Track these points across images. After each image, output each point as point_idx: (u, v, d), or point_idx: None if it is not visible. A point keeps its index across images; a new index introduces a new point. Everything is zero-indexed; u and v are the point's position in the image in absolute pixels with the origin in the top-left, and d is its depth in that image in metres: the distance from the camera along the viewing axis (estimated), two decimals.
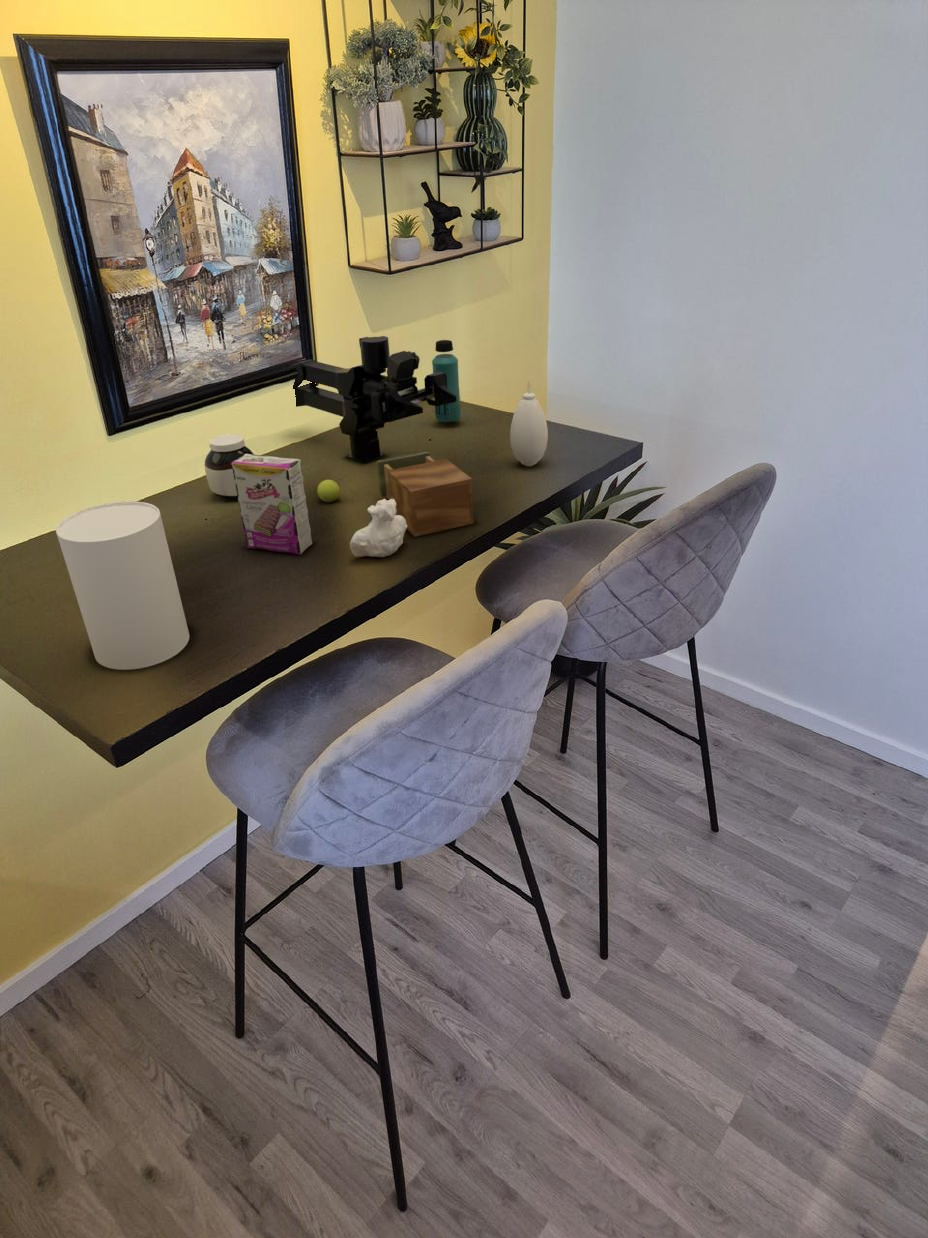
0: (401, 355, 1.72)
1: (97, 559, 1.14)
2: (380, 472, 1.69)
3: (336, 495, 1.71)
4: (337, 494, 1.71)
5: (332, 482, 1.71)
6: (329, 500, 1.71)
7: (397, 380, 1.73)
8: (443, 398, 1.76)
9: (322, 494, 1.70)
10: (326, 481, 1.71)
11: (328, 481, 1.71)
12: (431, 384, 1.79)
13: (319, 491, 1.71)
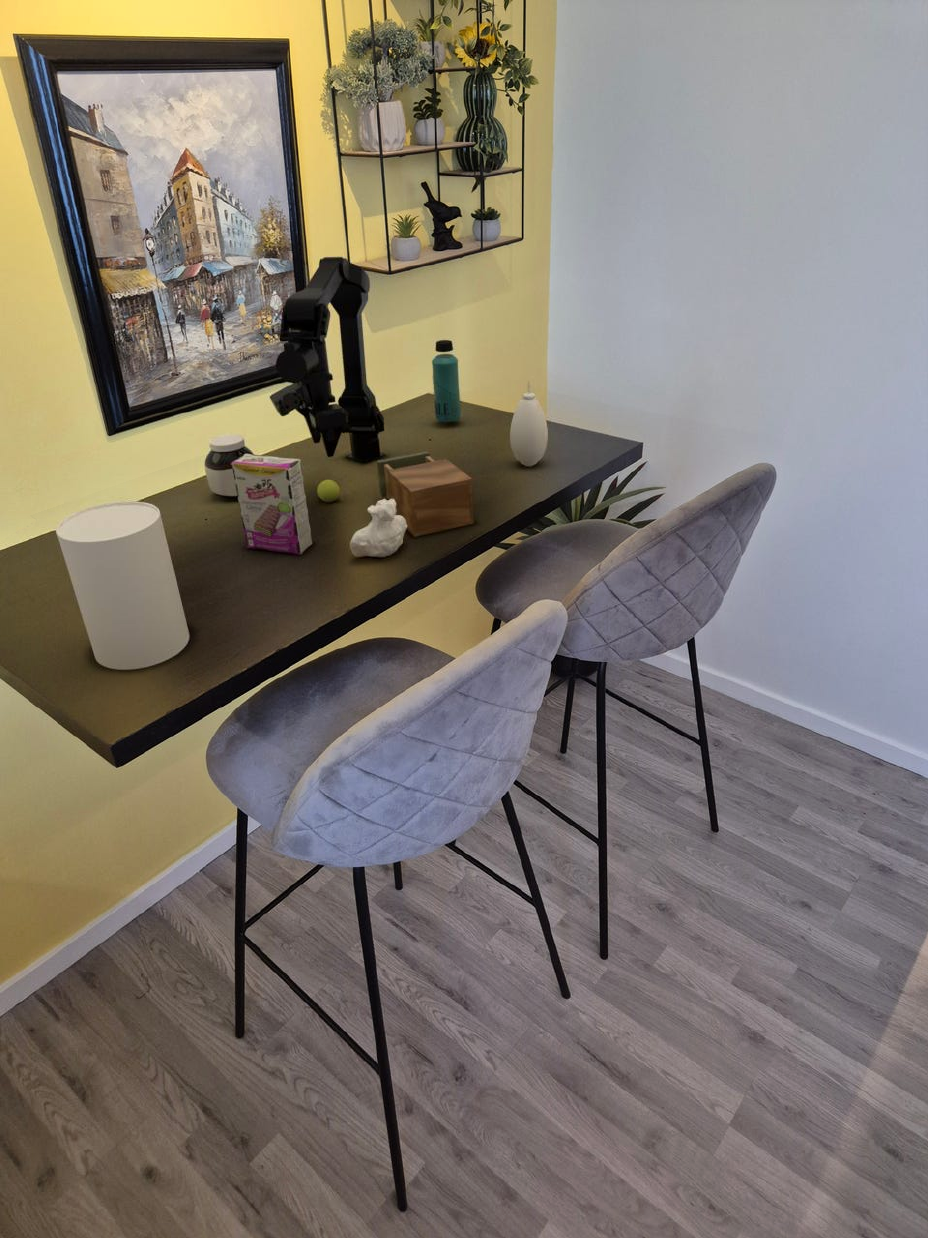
0: (274, 404, 1.60)
1: (97, 559, 1.14)
2: (380, 472, 1.69)
3: (336, 495, 1.71)
4: (337, 494, 1.71)
5: (332, 482, 1.71)
6: (329, 500, 1.71)
7: None
8: None
9: (322, 494, 1.70)
10: (326, 481, 1.71)
11: (328, 481, 1.71)
12: None
13: (319, 491, 1.71)
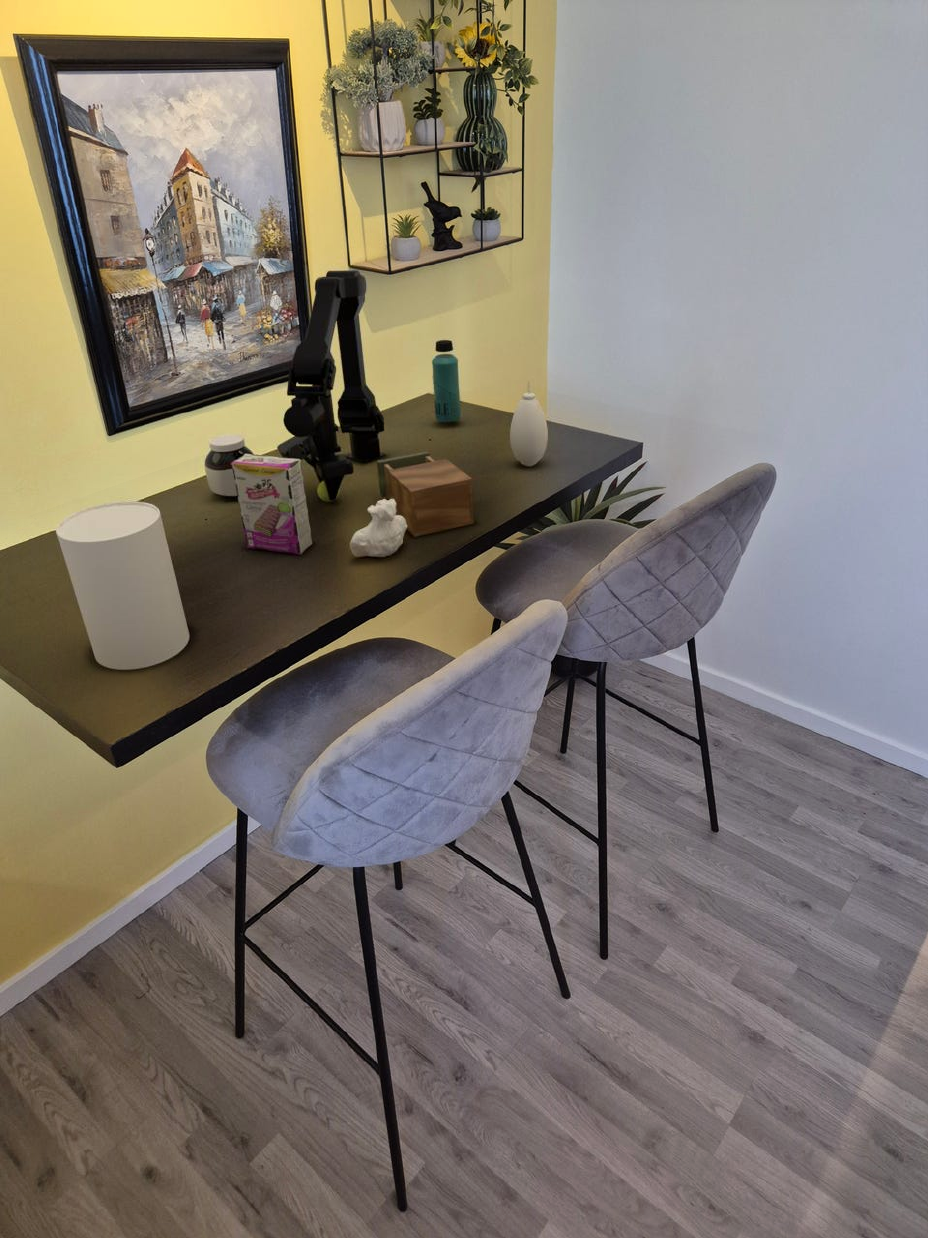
0: (281, 455, 1.65)
1: (97, 559, 1.14)
2: (380, 472, 1.69)
3: None
4: (337, 494, 1.71)
5: None
6: (329, 500, 1.71)
7: None
8: None
9: (322, 494, 1.70)
10: None
11: None
12: None
13: (319, 491, 1.71)
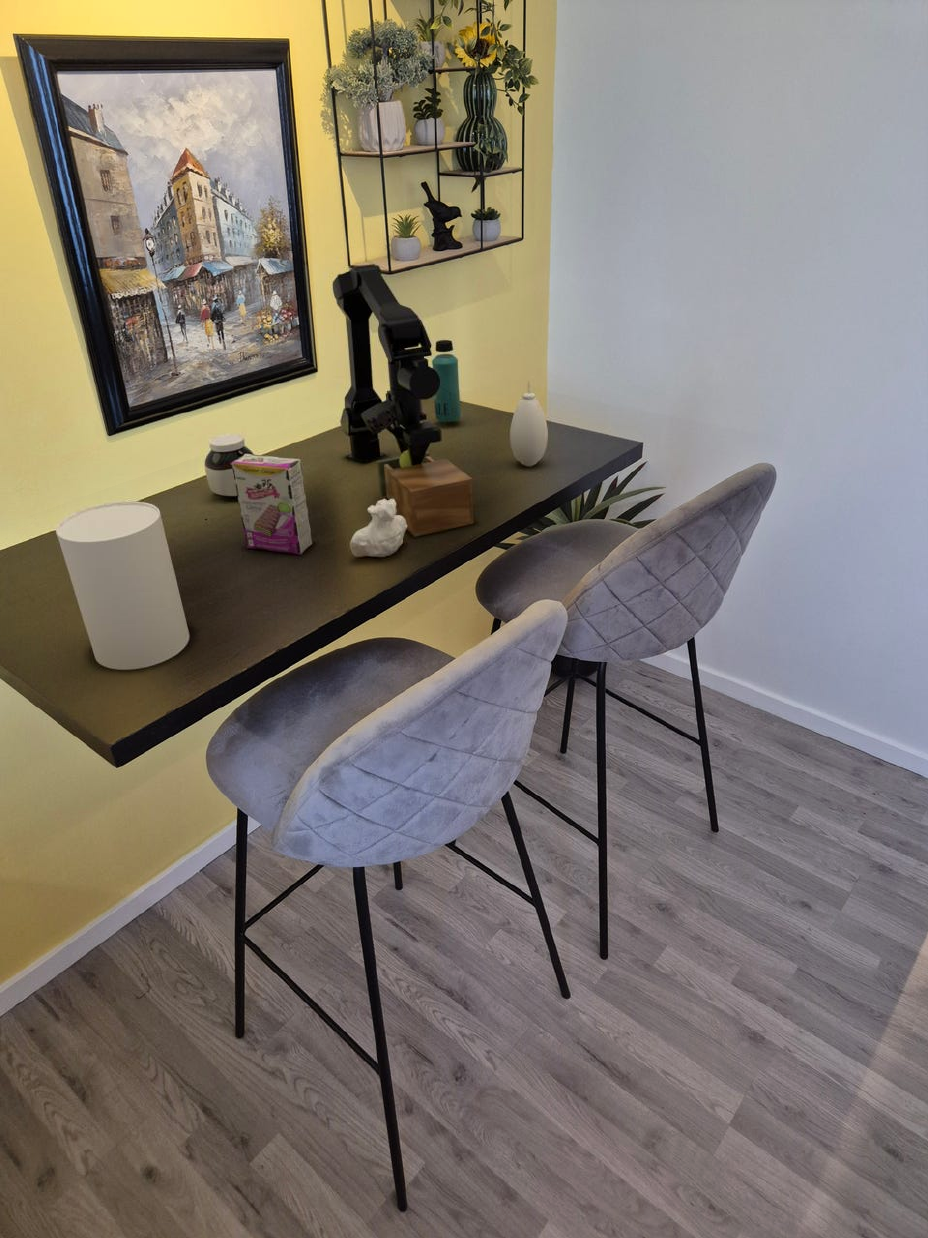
0: (366, 422, 1.59)
1: (97, 559, 1.14)
2: (380, 472, 1.69)
3: None
4: None
5: None
6: None
7: None
8: None
9: (405, 464, 1.65)
10: None
11: None
12: None
13: (402, 461, 1.65)
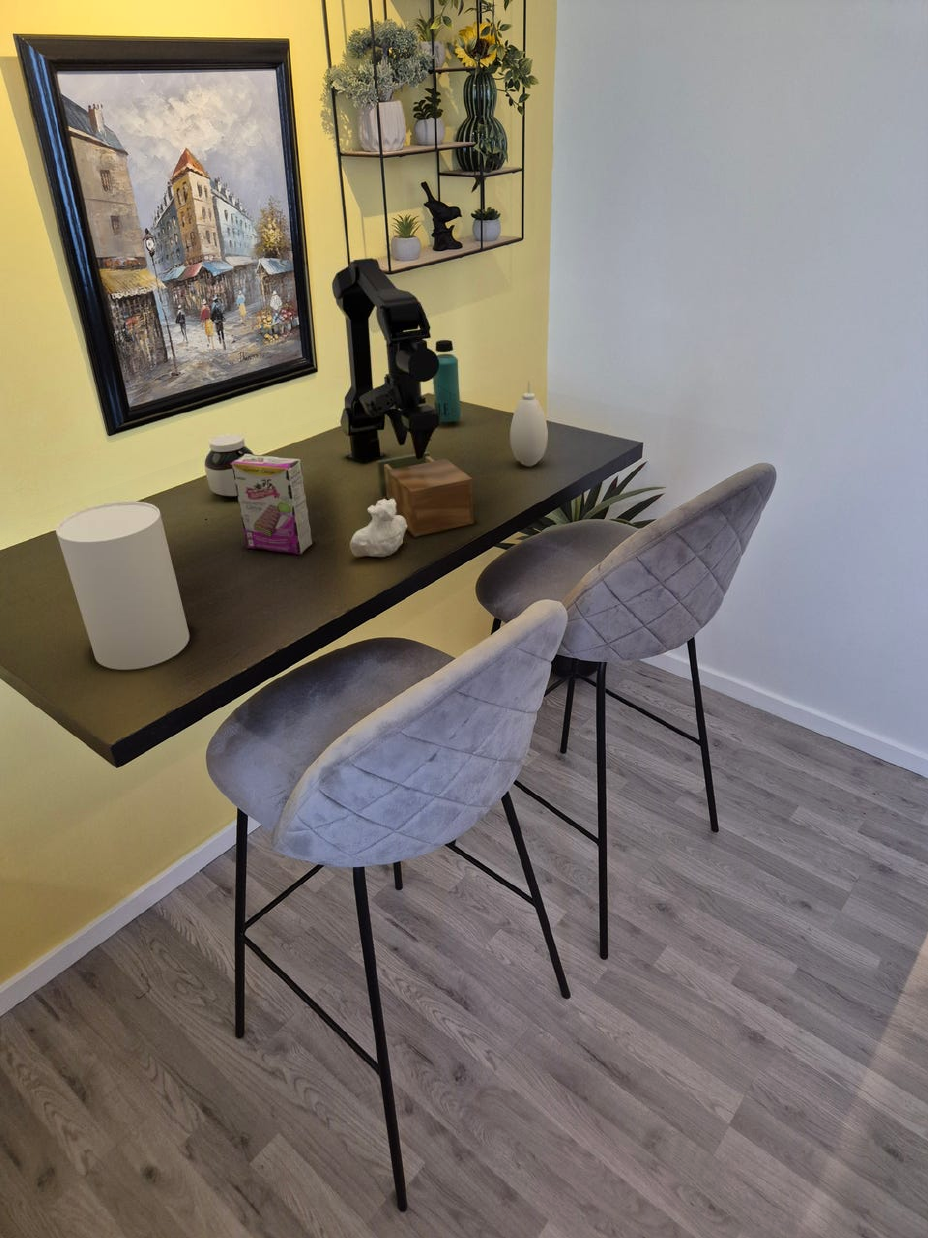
0: (364, 406, 1.58)
1: (97, 559, 1.14)
2: (380, 472, 1.69)
3: None
4: None
5: None
6: None
7: None
8: None
9: None
10: None
11: None
12: None
13: None
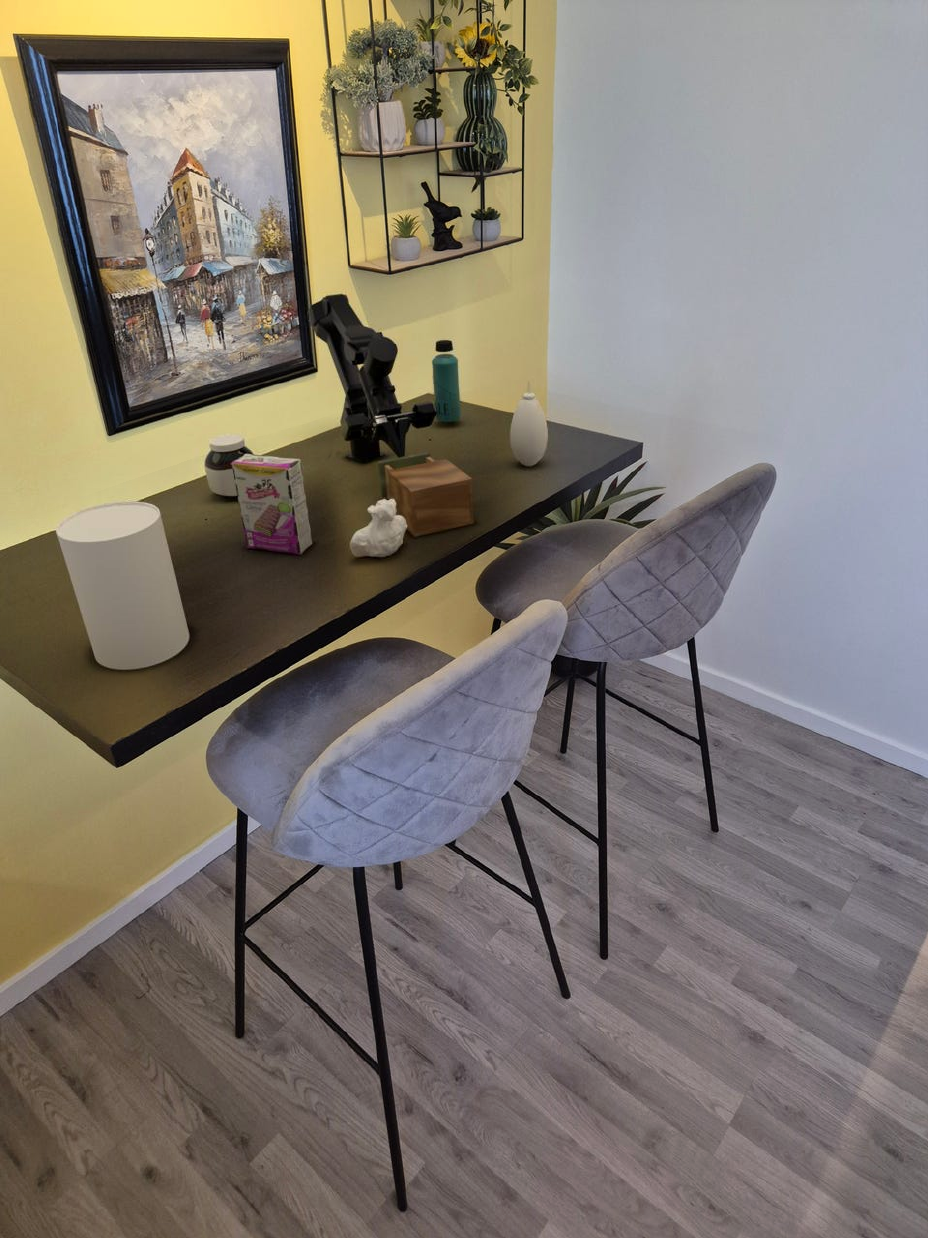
0: None
1: (97, 559, 1.14)
2: (381, 473, 1.69)
3: None
4: None
5: None
6: None
7: None
8: None
9: None
10: None
11: None
12: None
13: None
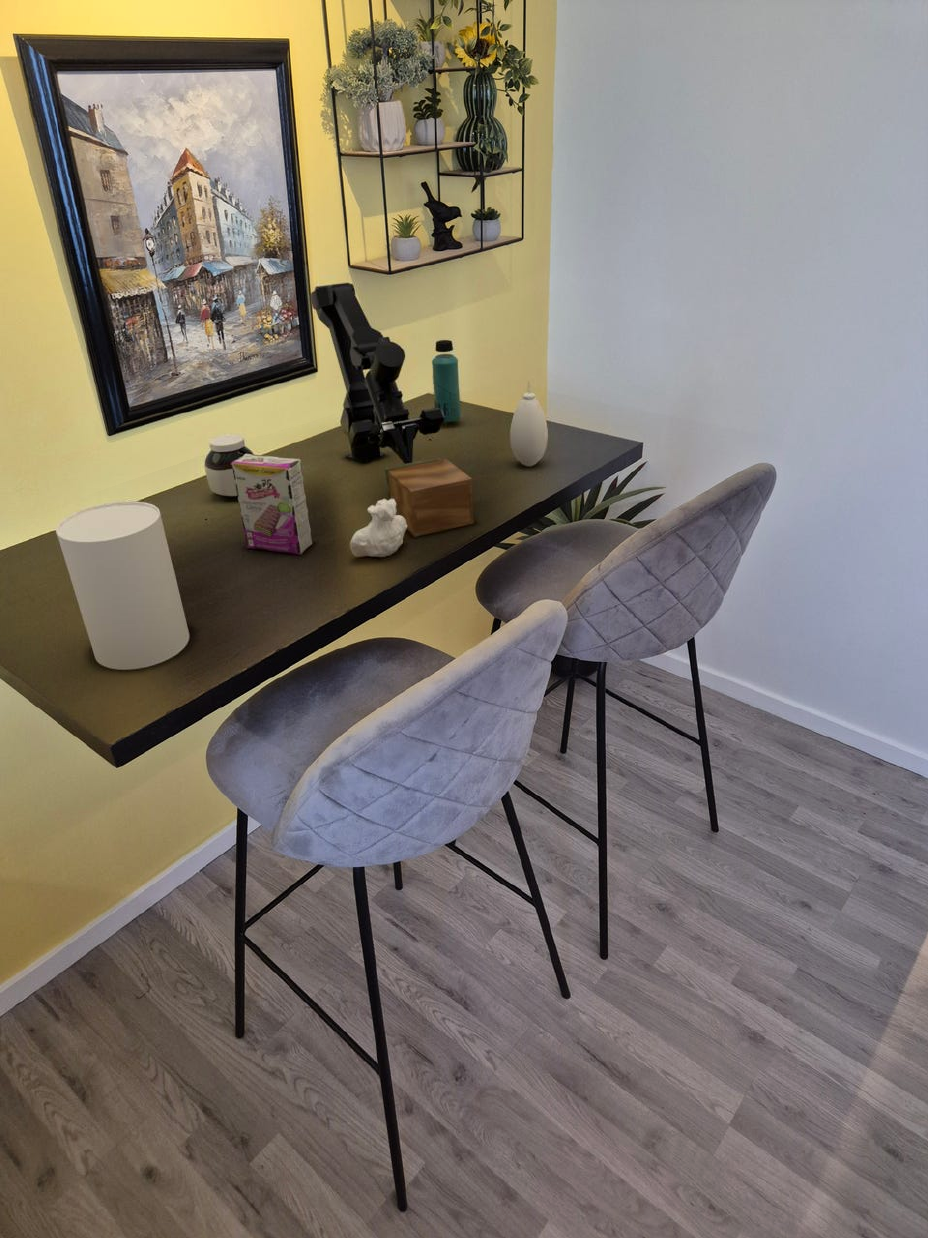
0: None
1: (97, 559, 1.14)
2: (388, 479, 1.65)
3: None
4: None
5: None
6: None
7: None
8: None
9: None
10: None
11: None
12: None
13: None
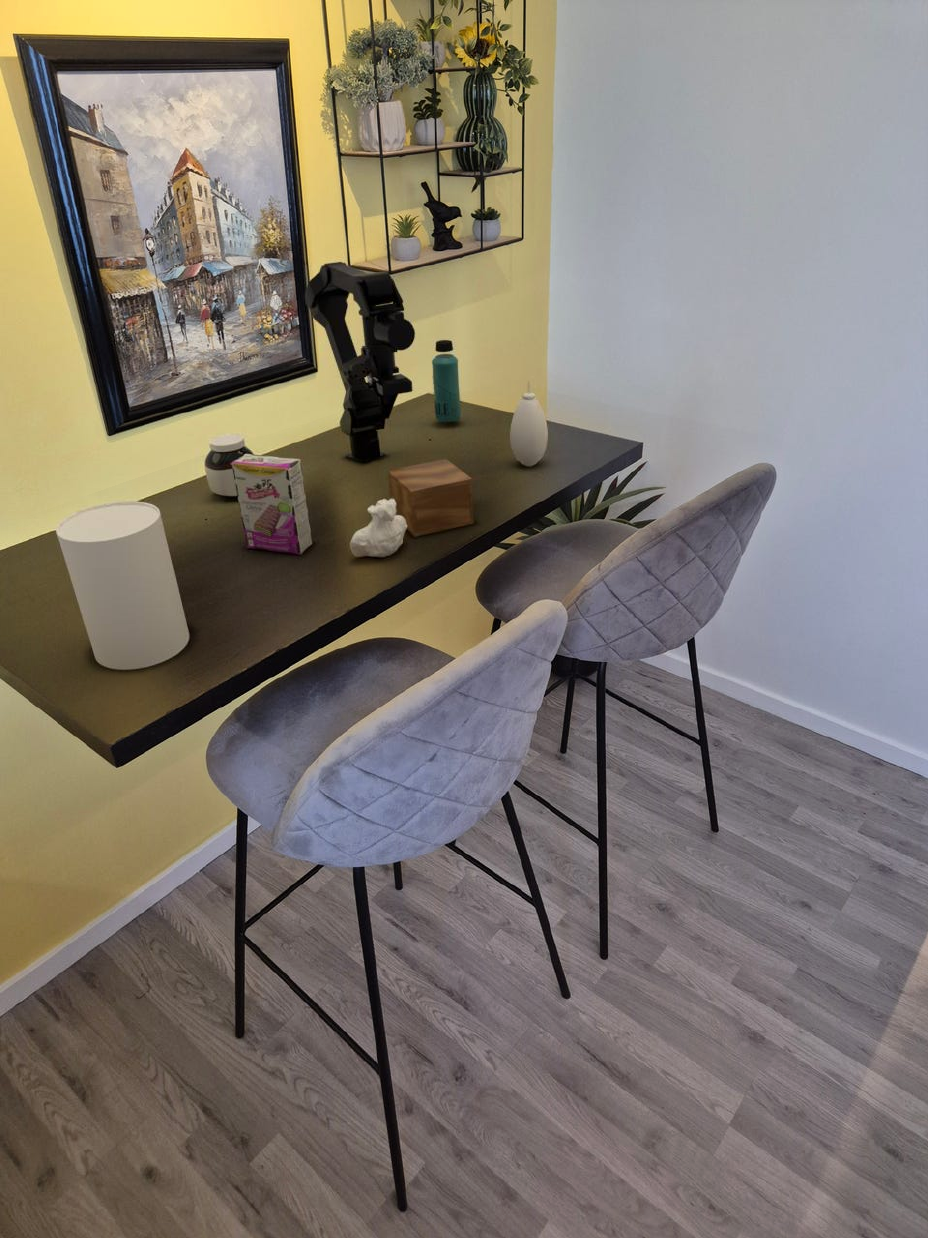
0: (342, 375, 1.71)
1: (97, 559, 1.14)
2: None
3: None
4: None
5: None
6: None
7: None
8: None
9: None
10: None
11: None
12: None
13: None
